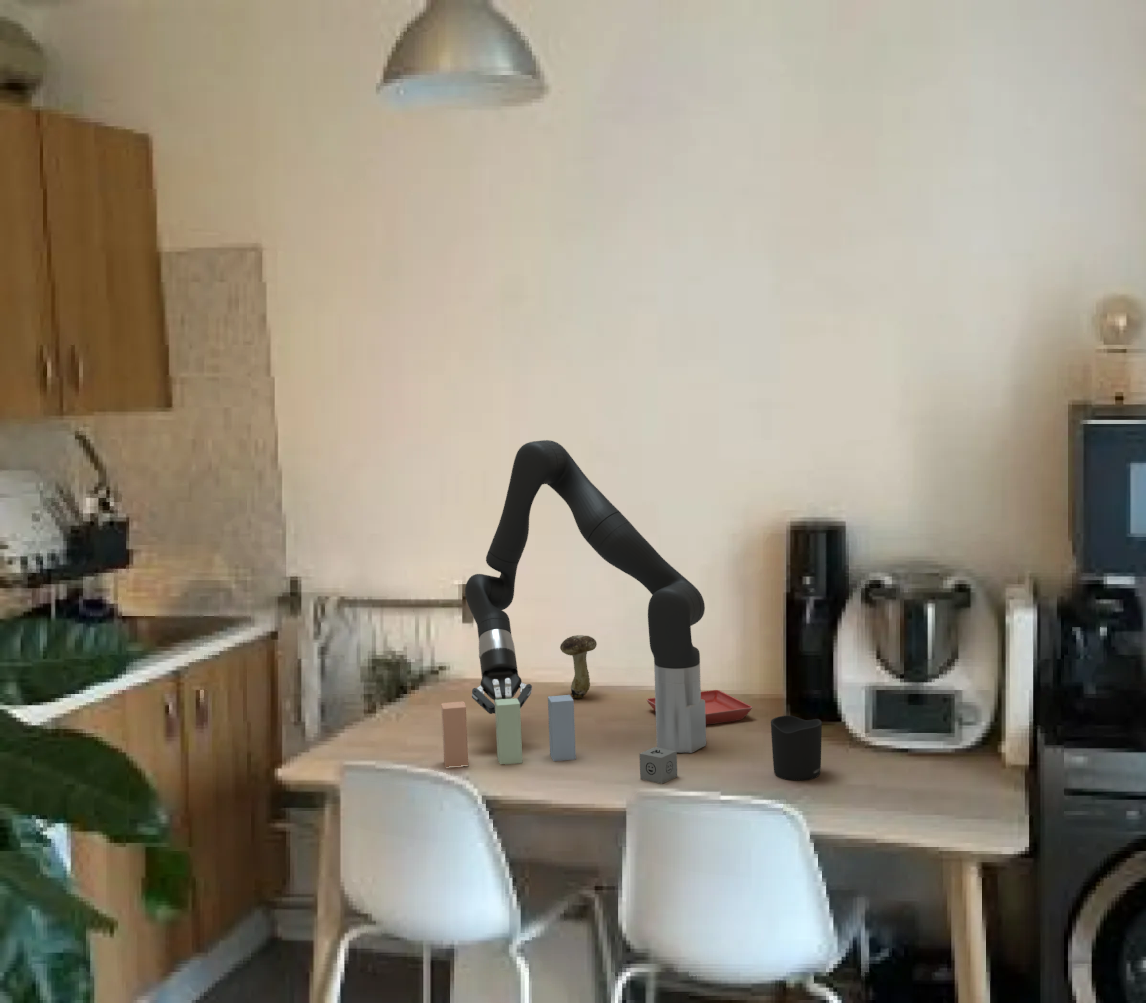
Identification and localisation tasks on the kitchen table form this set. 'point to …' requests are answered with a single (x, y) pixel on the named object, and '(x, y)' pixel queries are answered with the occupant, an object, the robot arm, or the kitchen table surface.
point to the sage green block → (508, 731)
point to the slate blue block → (561, 727)
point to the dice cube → (658, 765)
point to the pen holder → (796, 747)
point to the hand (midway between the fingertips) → (506, 729)
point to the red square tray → (719, 707)
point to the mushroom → (579, 662)
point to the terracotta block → (454, 734)
